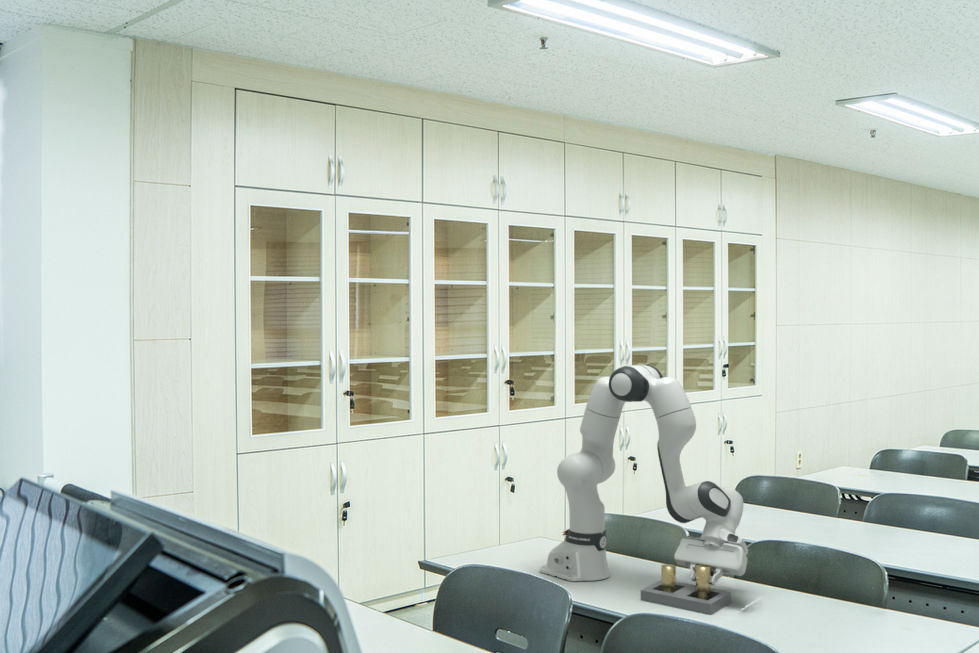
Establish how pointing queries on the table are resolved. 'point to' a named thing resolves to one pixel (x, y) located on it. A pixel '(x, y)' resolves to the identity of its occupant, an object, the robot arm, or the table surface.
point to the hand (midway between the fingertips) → (702, 582)
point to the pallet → (686, 598)
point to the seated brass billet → (668, 578)
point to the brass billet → (703, 582)
